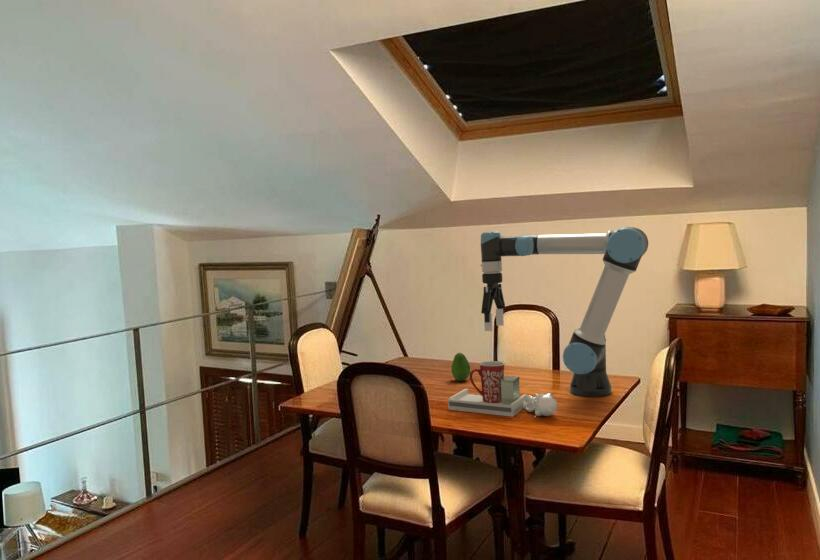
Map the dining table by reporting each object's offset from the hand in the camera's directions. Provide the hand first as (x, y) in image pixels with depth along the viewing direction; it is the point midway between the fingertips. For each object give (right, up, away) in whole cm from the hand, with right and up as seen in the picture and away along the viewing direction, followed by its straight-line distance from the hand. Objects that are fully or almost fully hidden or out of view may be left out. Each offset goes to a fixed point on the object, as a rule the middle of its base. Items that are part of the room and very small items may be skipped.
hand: (494, 328), depth 235 cm
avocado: (-10, -24, +26) cm, 37 cm away
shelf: (-4, -27, -16) cm, 32 cm away
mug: (-4, -25, -15) cm, 30 cm away
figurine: (+12, -27, -26) cm, 40 cm away
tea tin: (+3, -25, -20) cm, 32 cm away
